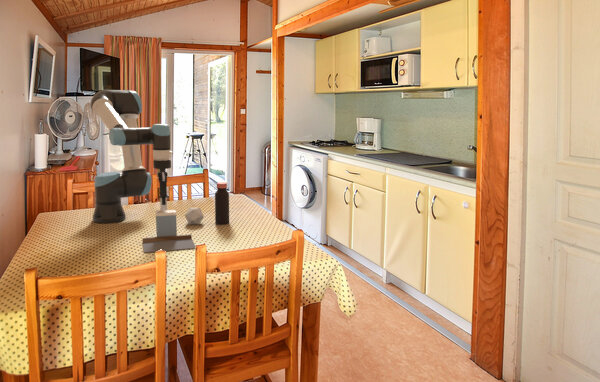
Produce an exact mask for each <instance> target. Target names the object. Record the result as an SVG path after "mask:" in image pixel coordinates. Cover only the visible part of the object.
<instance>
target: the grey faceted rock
mask: <svg viewBox="0 0 600 382" xmlns="http://www.w3.org/2000/svg"><path fill="white" fill-rule="evenodd" d="M184 216H185V219H186V221H187V224H188V225H200V223H201V222H202V221H203V219H204V217H205V216H204V213H203V211H202V209H201V207H189V208H188V210H187V211H186V213H185V214H184Z"/></svg>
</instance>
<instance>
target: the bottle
mask: <svg viewBox="0 0 600 382" xmlns="http://www.w3.org/2000/svg"><path fill="white" fill-rule="evenodd" d="M227 188H228V183H227V182H222V181H220V182H217V183H216V189H217V190H216V192H215V193H214V218H215V219H214V221H215V224H216V225H221V226H223V225H228V224H229V223H230V193H229V191H228V190H227Z"/></svg>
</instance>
